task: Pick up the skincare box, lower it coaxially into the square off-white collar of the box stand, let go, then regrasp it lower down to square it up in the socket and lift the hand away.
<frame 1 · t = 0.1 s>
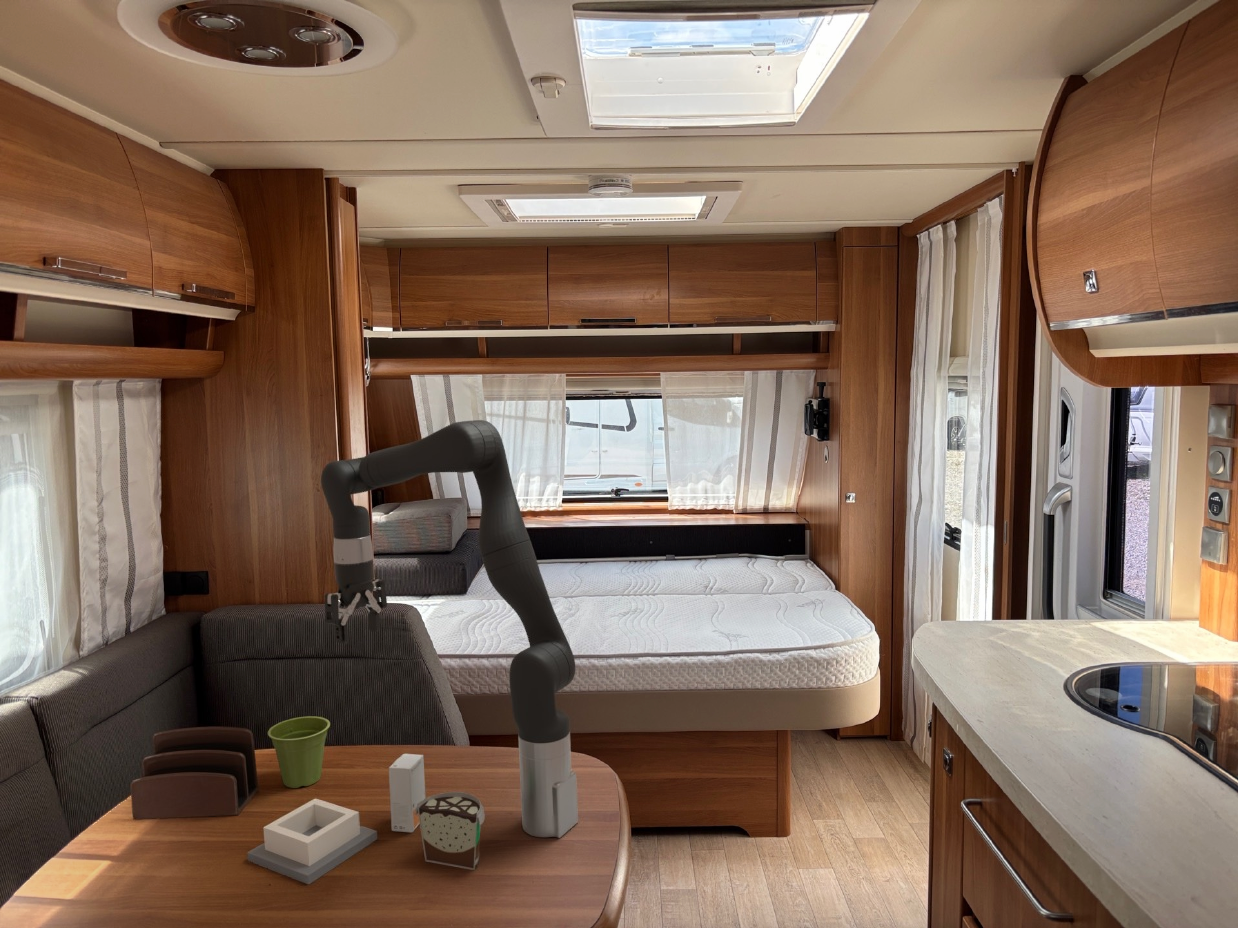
hand: (358, 636, 170), 29 cm above the table, tool pointing down, fingers open, 8 cm apart
skincare box: (409, 824, 153), on the table
plant pot: (303, 781, 172), on the table
box stand: (313, 849, 146), on the table
food container: (459, 856, 142), on the table
letter holder: (198, 806, 163), on the table
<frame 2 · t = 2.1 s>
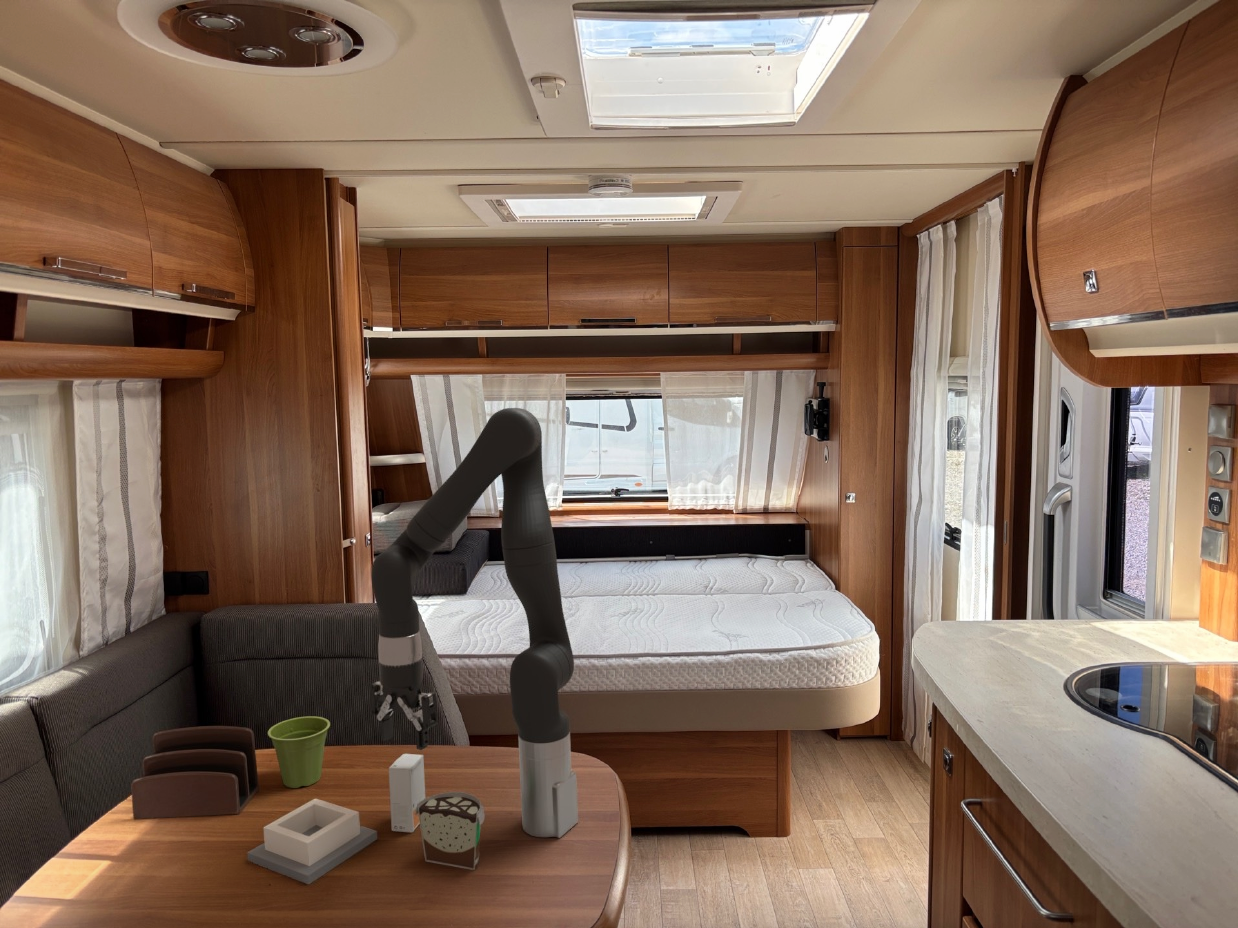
hand: (404, 743, 152), 15 cm above the table, tool pointing down, fingers open, 8 cm apart
nothing on the table moved.
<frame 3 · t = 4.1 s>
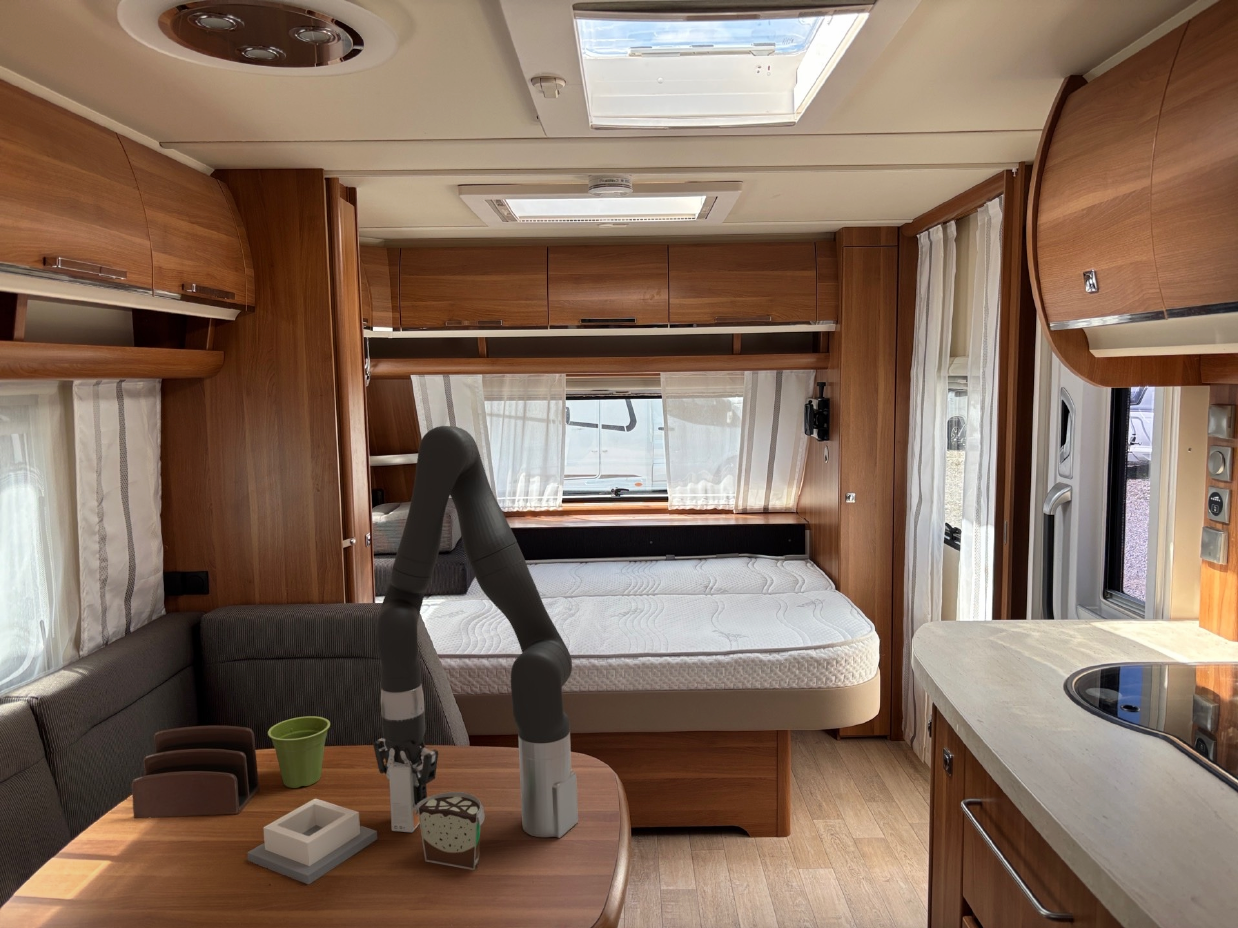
hand: (408, 799, 153), 5 cm above the table, tool pointing down, fingers closed on skincare box, 5 cm apart
skincare box: (409, 824, 153), on the table, touching gripper
everything else where it was.
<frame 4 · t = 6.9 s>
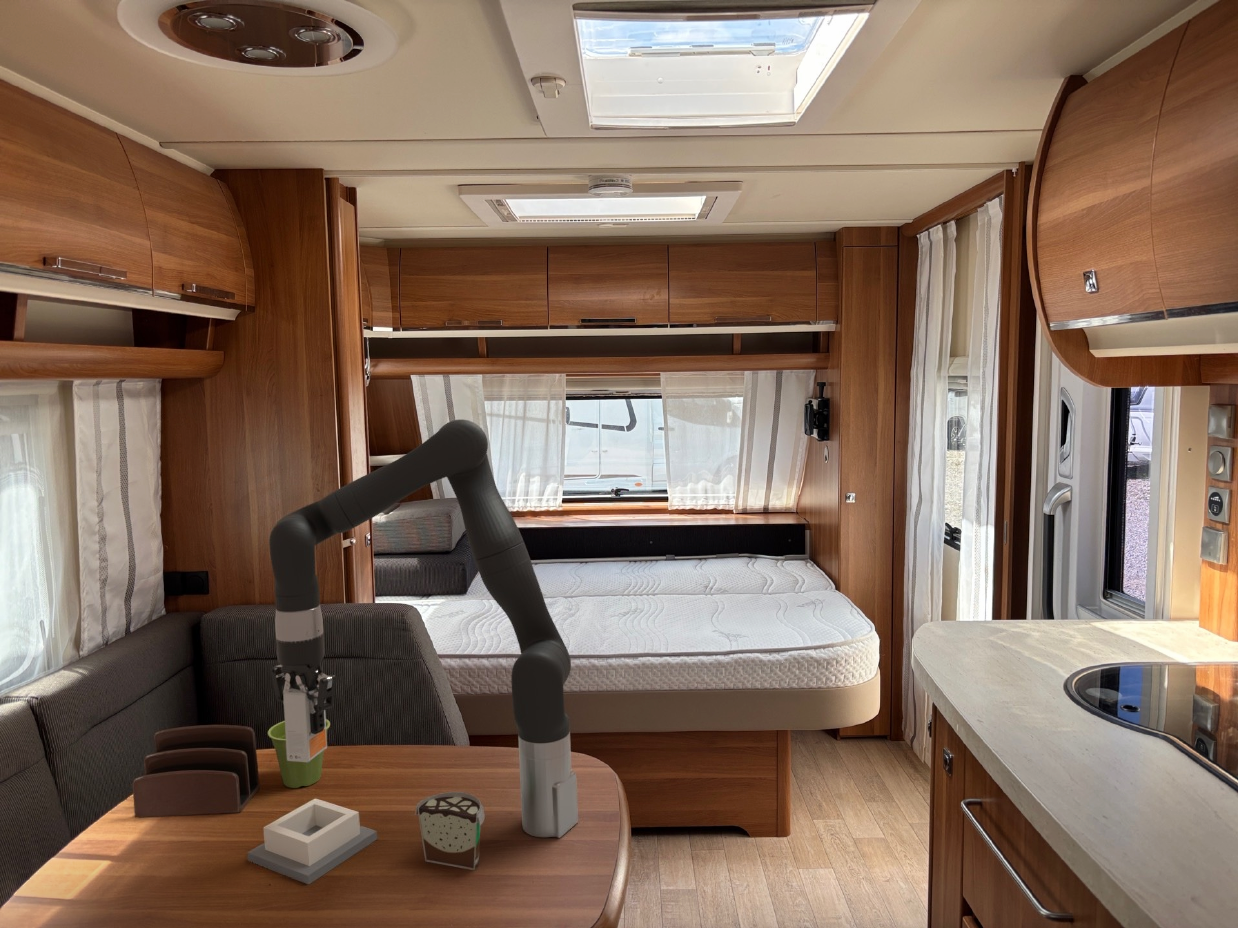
hand: (306, 728, 144), 22 cm above the table, tool pointing down, fingers closed on skincare box, 5 cm apart
skincare box: (308, 755, 144), point 17 cm above the table, touching gripper
everything else where it was.
when the fingers open (8 cm above the table, at t = 9.9 s): skincare box drops 2 cm, resting on box stand.
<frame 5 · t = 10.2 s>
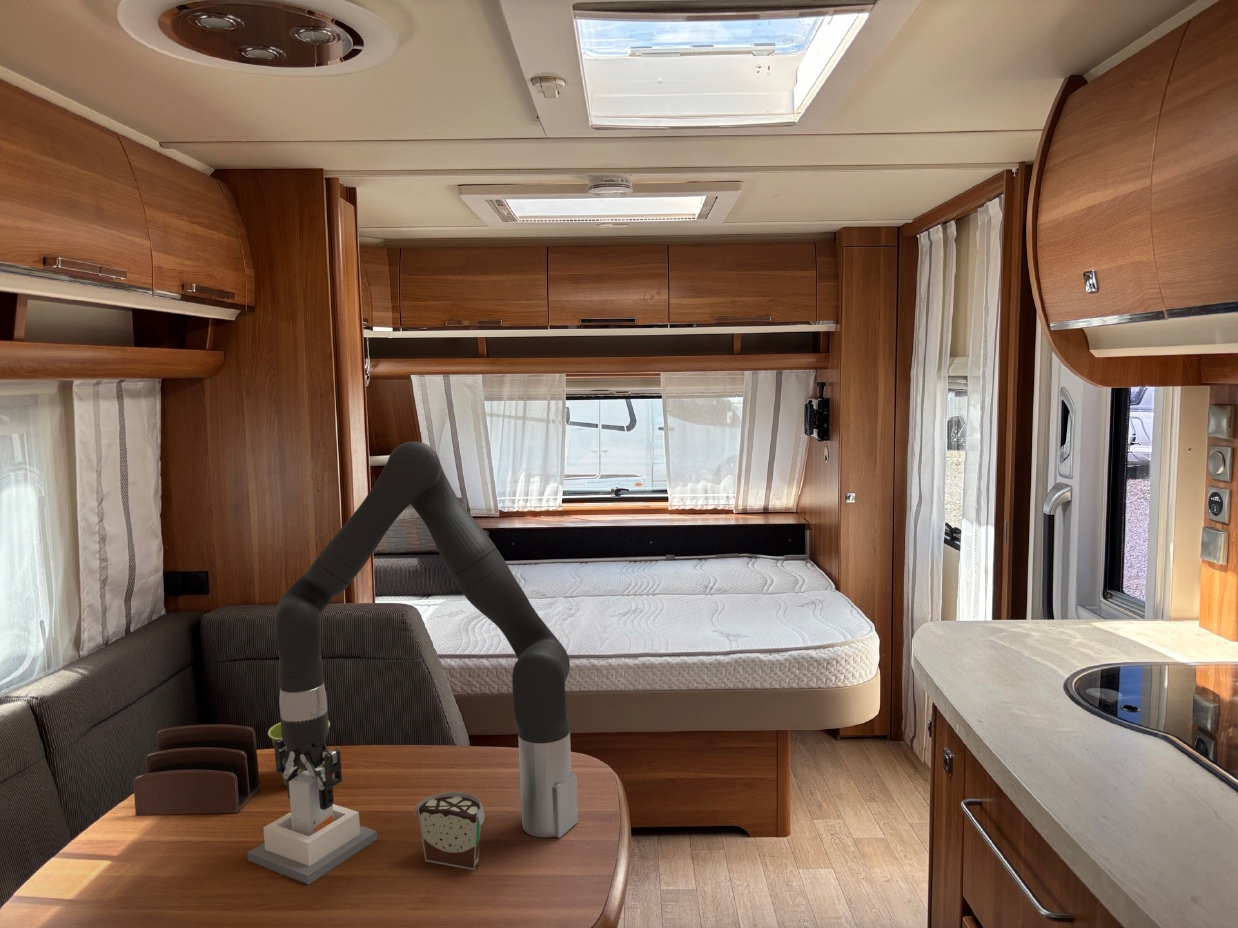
hand: (310, 802, 145), 9 cm above the table, tool pointing down, fingers open, 7 cm apart
skincare box: (314, 841, 146), point 1 cm above the table, touching box stand
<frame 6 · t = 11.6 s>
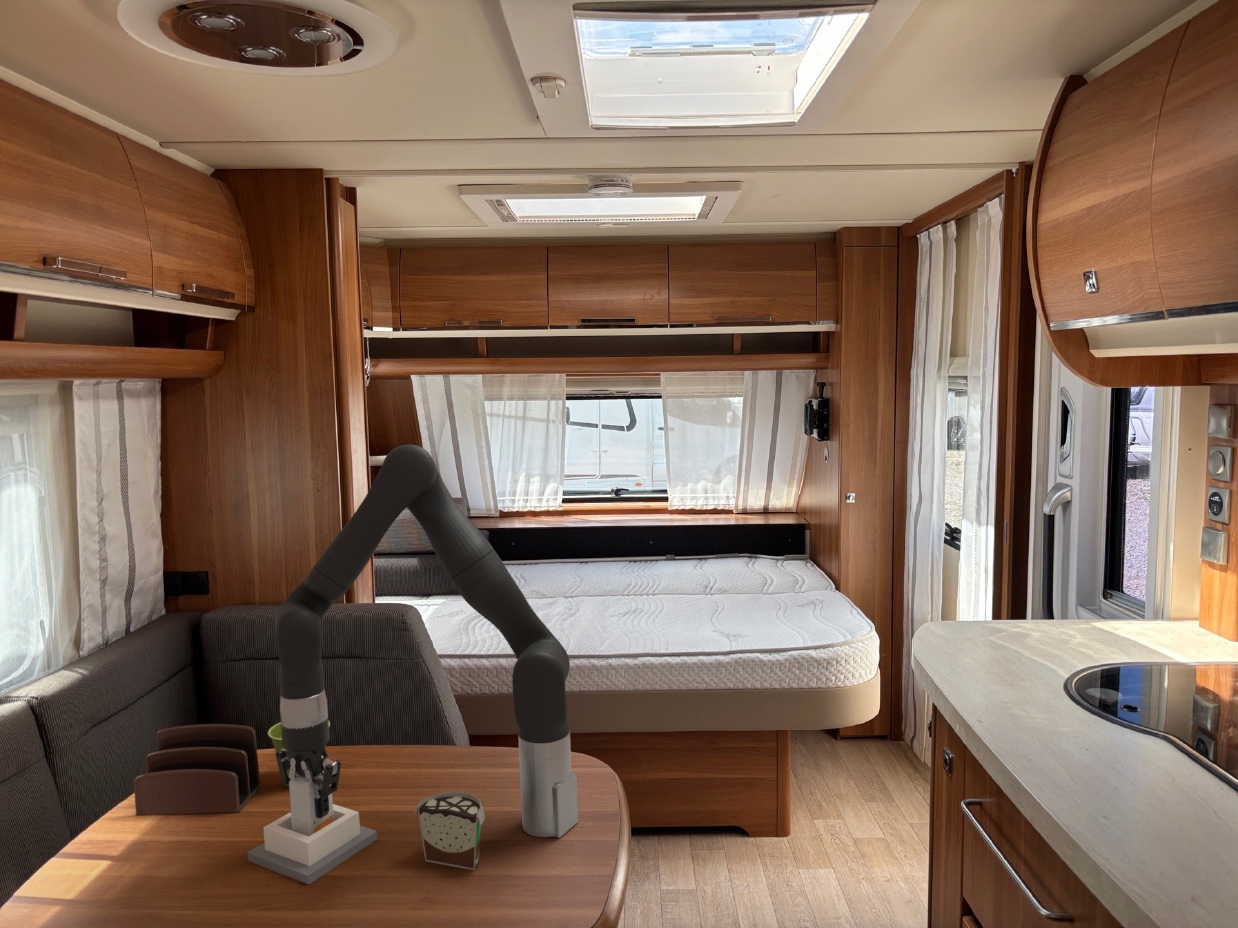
hand: (311, 812, 145), 7 cm above the table, tool pointing down, fingers closed on skincare box, 4 cm apart
skincare box: (314, 841, 146), point 1 cm above the table, touching box stand, gripper
when the fingers open (7 cm above the table, at t = 13.0 s): skincare box stays where it is, resting on box stand.
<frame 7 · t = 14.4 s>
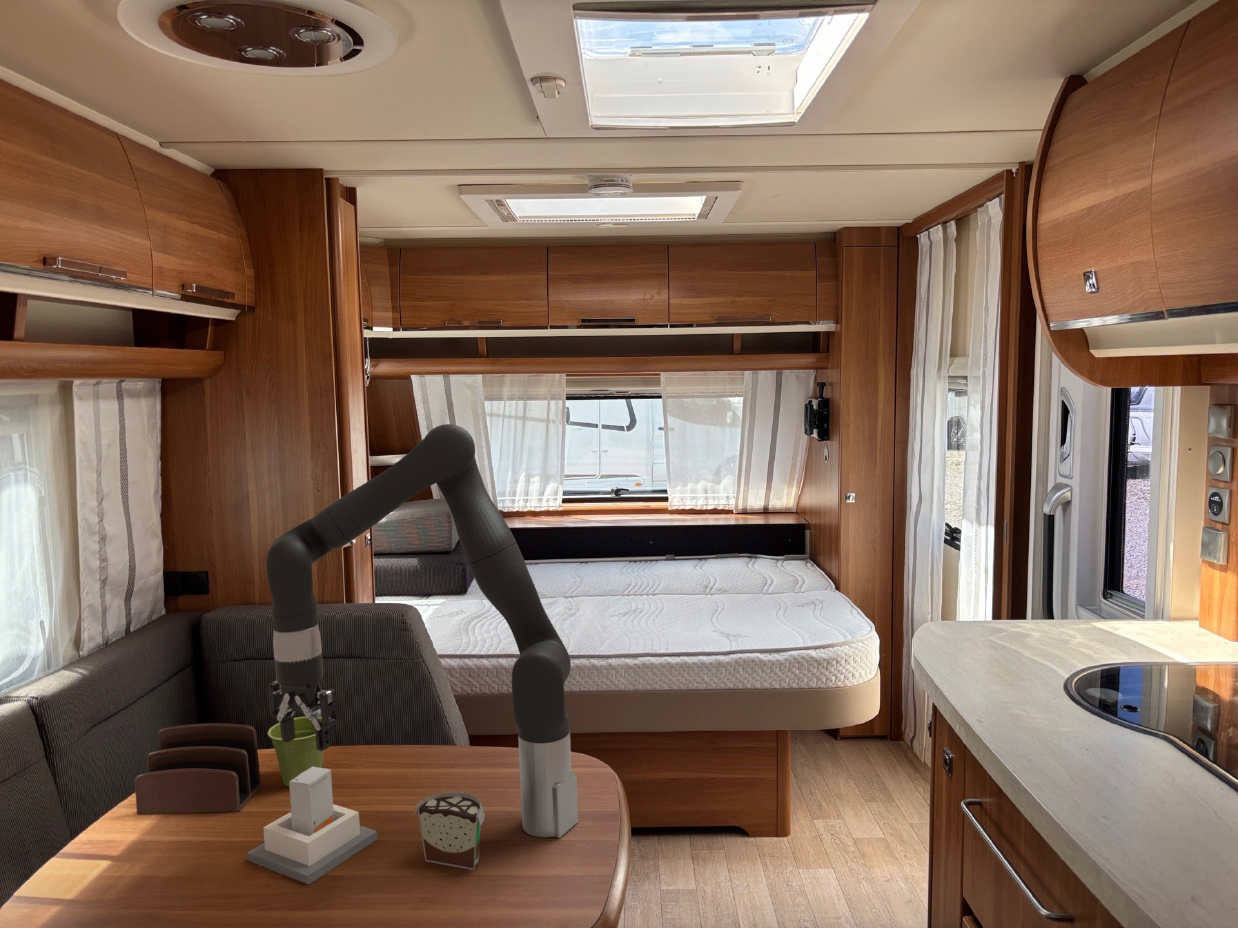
hand: (305, 744, 143), 19 cm above the table, tool pointing down, fingers open, 8 cm apart
skincare box: (314, 841, 146), point 1 cm above the table, touching box stand
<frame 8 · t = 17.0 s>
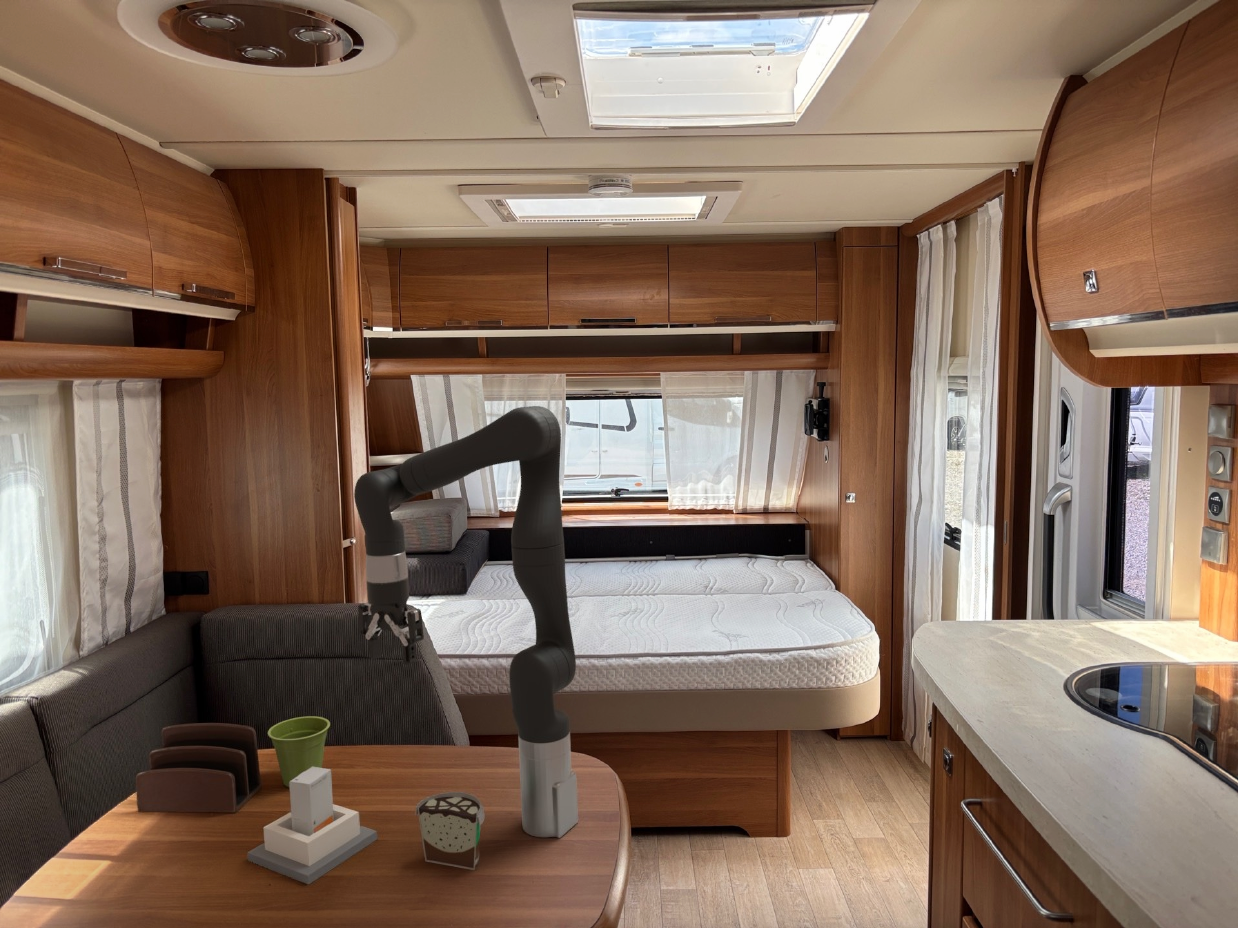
hand: (392, 660, 158), 28 cm above the table, tool pointing down, fingers open, 8 cm apart
at the end: skincare box 0.3 cm off-centre on the box stand, point 1.3 cm above the box stand's base; skincare box tilted 0°; the gripper is holding nothing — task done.
